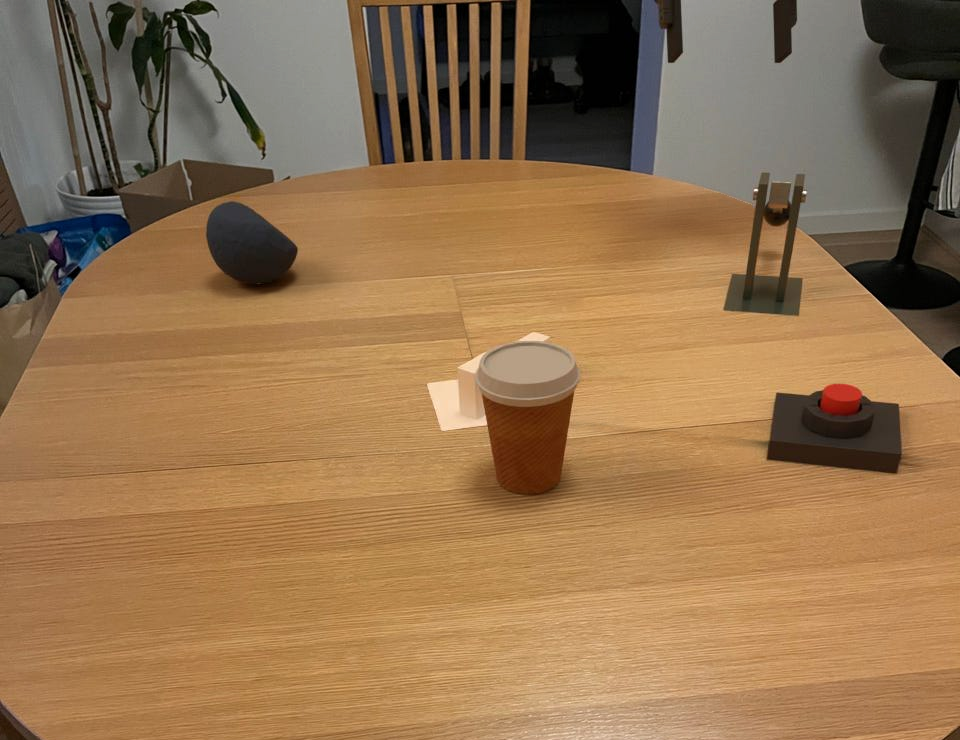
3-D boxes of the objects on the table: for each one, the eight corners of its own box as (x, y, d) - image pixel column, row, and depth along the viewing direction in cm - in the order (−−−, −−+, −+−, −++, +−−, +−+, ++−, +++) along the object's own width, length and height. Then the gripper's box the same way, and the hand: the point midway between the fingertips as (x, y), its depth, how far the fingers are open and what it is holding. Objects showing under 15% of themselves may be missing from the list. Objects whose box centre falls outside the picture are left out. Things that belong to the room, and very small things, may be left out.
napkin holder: (553, 366, 111) (553, 318, 107) (580, 412, 103) (581, 362, 99) (425, 383, 109) (420, 335, 105) (441, 432, 101) (438, 381, 97)
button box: (893, 423, 98) (903, 386, 96) (896, 474, 91) (907, 436, 89) (772, 411, 101) (779, 375, 99) (766, 459, 94) (773, 423, 92)
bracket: (730, 282, 127) (746, 162, 117) (801, 287, 125) (823, 165, 115) (721, 319, 119) (738, 193, 109) (797, 325, 116) (821, 197, 107)
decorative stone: (242, 305, 128) (226, 228, 121) (202, 281, 135) (184, 206, 129) (317, 281, 133) (306, 206, 127) (275, 258, 140) (261, 186, 134)
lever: (761, 227, 129) (765, 198, 128) (789, 228, 128) (793, 199, 127) (761, 209, 113) (766, 175, 112) (793, 210, 112) (798, 176, 111)
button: (858, 401, 95) (862, 385, 94) (858, 419, 92) (862, 402, 91) (820, 398, 96) (823, 381, 94) (819, 415, 93) (822, 399, 92)
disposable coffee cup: (464, 493, 92) (457, 377, 84) (500, 445, 98) (497, 332, 90) (559, 511, 89) (561, 393, 81) (590, 460, 95) (594, 345, 87)
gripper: (806, -120, 115) (810, 71, 119) (607, -128, 111) (618, 71, 114) (841, -162, 108) (844, 43, 111) (630, -172, 103) (640, 42, 107)
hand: (729, 58), depth 113 cm, fingers open, 13 cm apart
